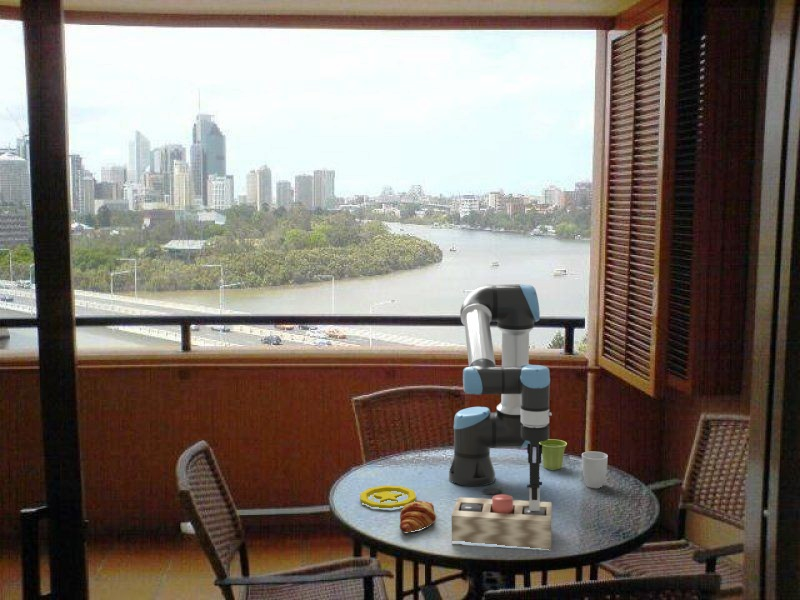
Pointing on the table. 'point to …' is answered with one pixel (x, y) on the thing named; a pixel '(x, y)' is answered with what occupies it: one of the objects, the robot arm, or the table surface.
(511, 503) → the middle button
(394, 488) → the decorative disc
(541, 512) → the right button
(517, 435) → the robot arm
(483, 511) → the control box
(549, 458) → the plant pot
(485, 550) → the table surface
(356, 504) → the table surface
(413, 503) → the croissant
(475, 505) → the left button
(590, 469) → the cup
